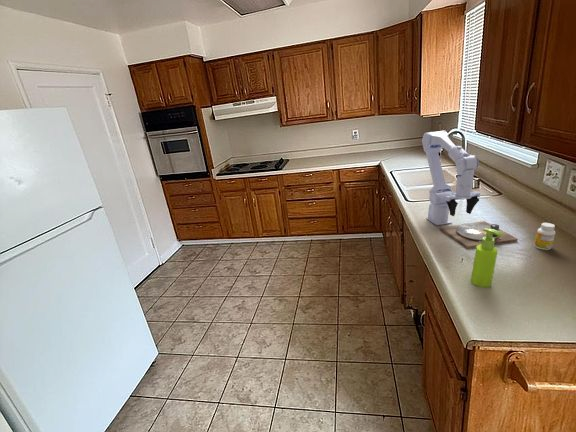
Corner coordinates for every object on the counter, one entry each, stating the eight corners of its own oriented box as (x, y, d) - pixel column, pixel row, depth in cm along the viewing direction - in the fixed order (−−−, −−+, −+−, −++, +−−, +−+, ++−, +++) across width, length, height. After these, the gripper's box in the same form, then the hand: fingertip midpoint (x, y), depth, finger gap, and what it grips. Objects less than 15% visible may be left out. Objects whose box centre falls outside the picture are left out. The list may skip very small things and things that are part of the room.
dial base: (440, 229, 140) (440, 226, 140) (484, 223, 142) (484, 220, 142) (467, 248, 123) (467, 245, 122) (517, 241, 125) (517, 238, 124)
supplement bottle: (534, 242, 123) (539, 220, 119) (551, 245, 119) (557, 223, 116) (533, 248, 119) (538, 226, 115) (551, 251, 116) (557, 228, 112)
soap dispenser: (486, 290, 98) (496, 236, 91) (467, 280, 104) (475, 228, 97) (498, 285, 100) (509, 231, 93) (478, 275, 106) (487, 224, 99)
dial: (448, 232, 135) (450, 221, 132) (468, 221, 142) (469, 211, 140) (486, 244, 122) (489, 232, 120) (506, 232, 129) (508, 221, 127)
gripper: (454, 189, 123) (450, 219, 128) (487, 184, 124) (482, 215, 129) (443, 184, 129) (440, 213, 134) (475, 180, 130) (471, 209, 136)
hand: (460, 214), depth 132 cm, fingers open, 7 cm apart
